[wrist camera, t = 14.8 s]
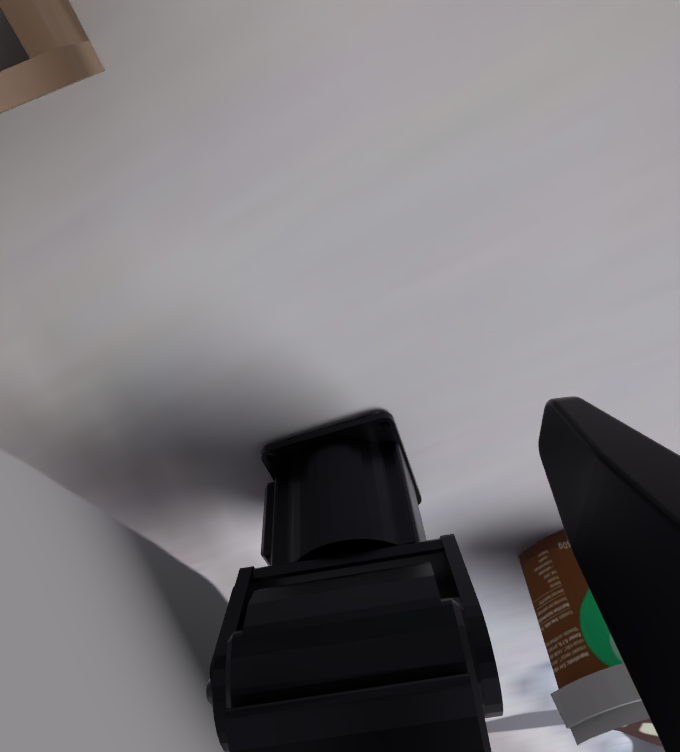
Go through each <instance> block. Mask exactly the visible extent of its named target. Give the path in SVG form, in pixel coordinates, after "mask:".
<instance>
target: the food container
mask: <svg viewBox="0 0 680 752" xmlns="http://www.w3.org/2000/svg"><path fill="white" fill-rule="evenodd" d="M518 557H519V560H520V563H521V566H522V570H523V573H524V576H525V580H526V583H527V586H528V589H529V593H530V596H531V599H532V603H533V606H534V609H535V612H536V616H537V619H538V622H539V626H540V629H541V632H542V635H543V639H544V642H545V645H546V649H547V652H548V655H549V658H550V662H551V665H552V668H553V672H554V675H555V678H556V681H557V685H558V688H559V690H557V691H555V692H553V693H552V694H551V696H552V698H553V701H554V703H555V705H556V707H557V709H558V711H559V713H560V715H561V717H562V719H563V721H564V723H565V725H566V727H567V728H571V731H572V733H573V736H574V738H575V741H576V743H577V745H581V744H583V743H585V742H587V741H588V740H590V739H592V738H595V737H597V736H599V735H602V734H604V733H606V732H608V731H611V730H617V731H621V732H624V733H627V734H629V735H632V736H634V737H637V738H639V739H642V740H644V741H647V742H650V743H653V744H656V745H659V746H663V745H662V743H661V741H660V739H659V737H658V735H657V732H656V730H655V728H654V726H653V724H652V722H651V720H650V717H649V715H648V713H647V711H646V709H645V707H644V705H643V702H642V700H641V698H640V696H639V694H638V692H637V690H636V687H635V685H634V683H633V681H632V679H631V677H630V675H629V672H628V670H627V668H626V666H625V664H624V662H623V660H622V657H621V655H620V653H619V651H618V649H617V647H616V645H615V642H614V640H613V638H612V636H611V634H610V632H609V630H608V627H607V625H606V623H605V621H604V619H603V617H602V615H601V612H600V610H599V608H598V606H597V604H596V602H595V600H594V597H593V595H592V593H591V591H590V589H589V587H588V585H587V582H586V580H585V578H584V576H583V574H582V572H581V570H580V567H579V565H578V563H577V561H576V558H575V556H574V554H573V551H572V549H571V546H570V543H569V541H568V538H567V535H566V532H565V530H564V531H561V532H558V533H556V534H553V535H551V536H549V537H547V538H545V539H543V540H541V541H539V542H537V543H536V544H534V545H533V546H531V547H529V548H528V549H527V550H525V551H524V552H523V553H522V554H521V555H519V556H518Z"/></svg>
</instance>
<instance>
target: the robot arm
mask: <svg viewBox="0 0 680 752" xmlns="http://www.w3.org/2000/svg"><path fill="white" fill-rule="evenodd" d="M381 422H387V423H386V424H380V423H381ZM539 453H540V457H541V460H542V463H543V466H544V469H545V472H546V475H547V478H548V481H549V484H550V487H551V490H552V493H553V496H554V499H555V502H556V505H557V508H558V511H559V514H560V517H561V520H562V523H563V526H564V529H565V532H566V535H567V538H568V541H569V543H570V546H571V549H572V551H573V554H574V556H575V558H576V561H577V563H578V565H579V567H580V570H581V572H582V574H583V576H584V578H585V580H586V582H587V585H588V587H589V589H590V591H591V593H592V595H593V597H594V600H595V602H596V604H597V606H598V608H599V610H600V612H601V615H602V617H603V619H604V621H605V623H606V625H607V627H608V630H609V632H610V634H611V636H612V638H613V640H614V642H615V645H616V647H617V649H618V651H619V653H620V655H621V657H622V660H623V662H624V664H625V666H626V668H627V670H628V672H629V675H630V677H631V679H632V681H633V683H634V685H635V687H636V690H637V692H638V694H639V696H640V698H641V700H642V702H643V705H644V707H645V709H646V711H647V713H648V715H649V717H650V720H651V722H652V724H653V726H654V728H655V730H656V732H657V735H658V737H659V739H660V741H661V743H662V745H663V747H664V750H665V752H680V455H678V454H676V453H674V452H673V451H671V450H669V449H667V448H666V447H664V446H662V445H661V444H659V443H657V442H655V441H654V440H652V439H650V438H648V437H647V436H645V435H643V434H642V433H640V432H638V431H636V430H635V429H633V428H631V427H630V426H628V425H626V424H624V423H623V422H621V421H619V420H617V419H616V418H614V417H612V416H611V415H609V414H607V413H605V412H604V411H602V410H600V409H598V408H597V407H595V406H593V405H592V404H590V403H588V402H586V401H585V400H583V399H581V398H579V397H563V398H554V399H551V400H549V401H548V402H547V403H546V405H545V408H544V414H543V419H542V425H541V430H540V436H539ZM269 454H275V456H271V455H269ZM261 459H262V461H263V463H264V465H265V466H266V468H267V470H268V472H269V473H270V475H271V477H272V478H273V480H274V482H272V483H268V484H267V486H266V488H265V500H264V515H263V529H262V544H261V555H262V557H263V558H264V560H265V561H266V563H267V564H268V566H267V567H261V568H254V566H252V567H246V568H240V570H239V573H238V577H237V580H236V583H235V587H233V590H232V593H231V597H230V600H229V603H228V607H227V610H226V614H225V617H224V621H223V624H222V628H221V631H220V634H219V638H218V641H217V644H216V648H215V651H214V655H213V658H212V661H211V665H210V680H209V682H208V684H207V690H206V693H207V700H208V702H209V703H210V704H211V705H212V706H213V712H214V721H215V726H216V731H217V735H218V738H219V741H220V744H221V746H222V748H223V750H224V751H225V752H491V747H490V742H489V737H488V733H487V728H486V723H485V718H489V717H496V716H502V715H503V702H502V694H501V688H500V682H499V677H498V672H497V667H496V662H495V658H494V653H493V649H492V645H491V641H490V637H489V634H488V630H487V626H486V623H485V620H484V616H483V613H482V610H481V607H480V604H479V602H478V599H477V596H476V593H475V591H474V588H473V585H472V582H471V580H470V577H469V574H468V572H467V569H466V566H465V563H464V561H463V558H462V555H461V553H460V550H459V547H458V544H457V542H456V539H455V536H454V534H450V535H444V536H440V539H434V540H428V541H426V536H425V532H424V528H423V524H422V519H421V515H420V511H419V506H418V505H419V504H420V503H421V495H420V491H419V489H418V486H417V483H416V480H415V477H414V474H413V472H412V469H411V466H410V463H409V460H408V457H407V455H406V452H405V449H404V446H403V443H402V440H401V438H400V435H399V432H398V429H397V426H396V423H395V421H394V418H393V416H392V414H390V413H388V412H380V413H376V414H373V415H369V416H366V417H362V418H359V419H355V420H352V421H348V422H345V423H342V424H338V425H335V426H331V427H328V428H324V429H321V430H317V431H314V432H310V433H307V434H304V435H300V436H297V437H293V438H290V439H286V440H283V441H279V442H276V443H272V444H269V445H267V446H265V447H264V448H263V449H262V455H261Z"/></svg>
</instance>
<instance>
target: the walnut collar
mask: <svg viewBox="0 0 680 752" xmlns="http://www.w3.org/2000/svg"><path fill="white" fill-rule="evenodd" d="M0 8H1V10H2V12H3V13H4V15H5V17H6V18H7V20H8V22H9V23H10V25H11V27H12V29H13V30H14V32H15V34H16V35H17V37H18V39H19V41H20V42H21V44H22V46H23V47H24V49H25V51H26V53H27V54H28V56H29V58H30V59H29V60H26V61H24V62H22V63H19V64H17V65H15V66H12V67H10V68H7V69H5V70H3V71H0V113H2V112H4V111H7V110H9V109H12V108H14V107H17V106H19V105H21V104H24V103H26V102H29V101H31V100H34V99H36V98H39V97H41V96H43V95H46V94H48V93H51V92H53V91H56V90H58V89H61V88H63V87H65V86H68V85H70V84H73V83H75V82H78V81H80V80H83V79H85V78H87V77H90V76H92V75H95V74H97V73H100V72H102V71H105V70H104V68H103V66H102V64H101V62H100V60H99V58H98V57H97V55H96V53H95V51H94V49H93V47H92V45H91V43H90V41H89V39H88V37H87V35H86V33H85V31H84V29H83V28H82V26H81V24H80V22H79V20H78V18H77V16H76V14H75V12H74V10H73V8H72V6H71V4H70V2H69V0H0Z"/></svg>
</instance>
